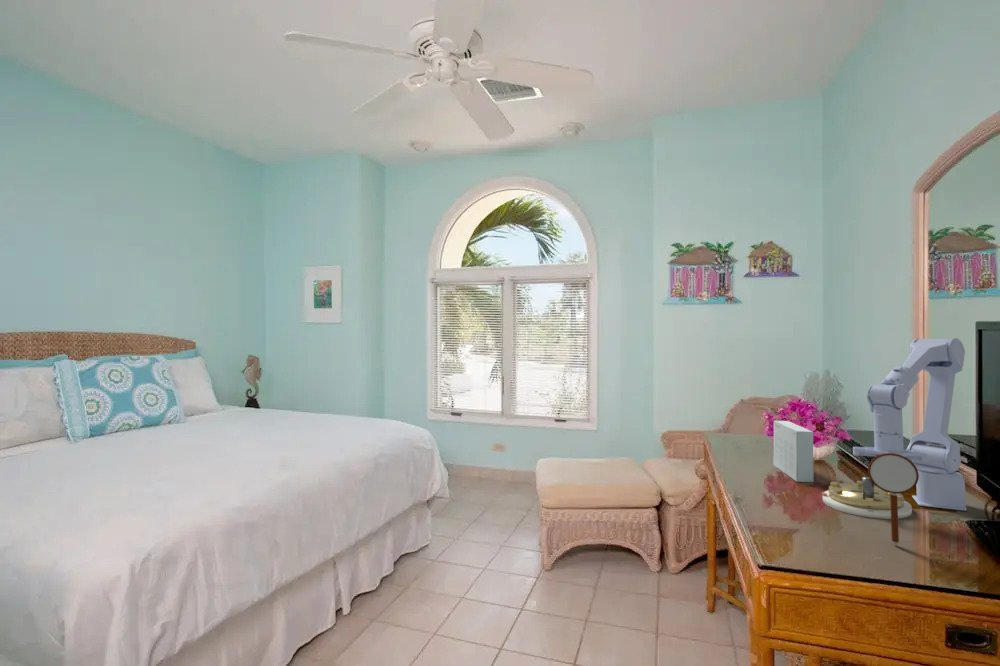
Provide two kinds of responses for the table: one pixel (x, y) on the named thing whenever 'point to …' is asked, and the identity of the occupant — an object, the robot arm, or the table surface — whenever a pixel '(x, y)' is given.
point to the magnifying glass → (893, 481)
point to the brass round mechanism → (863, 495)
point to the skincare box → (793, 450)
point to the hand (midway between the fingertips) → (890, 486)
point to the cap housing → (882, 514)
